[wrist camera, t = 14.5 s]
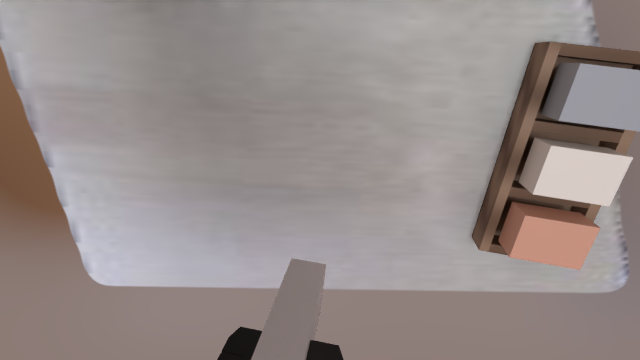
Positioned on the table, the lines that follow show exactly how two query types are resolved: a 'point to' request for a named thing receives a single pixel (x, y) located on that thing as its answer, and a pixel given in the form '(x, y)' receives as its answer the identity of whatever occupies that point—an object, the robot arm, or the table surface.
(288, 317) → the robot arm
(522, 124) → the wooden compartment tray
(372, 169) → the table surface
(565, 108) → the slate key
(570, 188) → the cream key
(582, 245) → the terracotta key
